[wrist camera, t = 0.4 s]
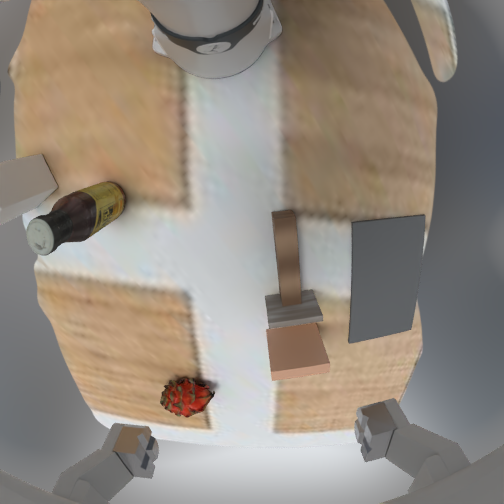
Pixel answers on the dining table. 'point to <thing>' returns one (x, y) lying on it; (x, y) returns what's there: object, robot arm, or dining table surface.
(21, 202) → the milk carton
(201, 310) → the dining table surface
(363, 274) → the mat
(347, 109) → the dining table surface
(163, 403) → the dragon fruit
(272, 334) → the tile
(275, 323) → the wooden post on base
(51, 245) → the sauce bottle
